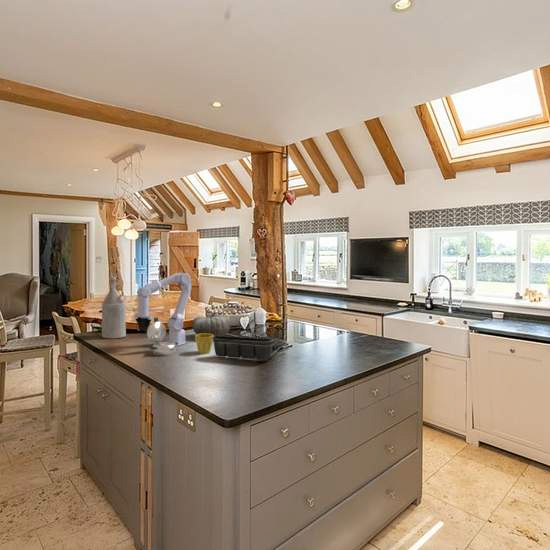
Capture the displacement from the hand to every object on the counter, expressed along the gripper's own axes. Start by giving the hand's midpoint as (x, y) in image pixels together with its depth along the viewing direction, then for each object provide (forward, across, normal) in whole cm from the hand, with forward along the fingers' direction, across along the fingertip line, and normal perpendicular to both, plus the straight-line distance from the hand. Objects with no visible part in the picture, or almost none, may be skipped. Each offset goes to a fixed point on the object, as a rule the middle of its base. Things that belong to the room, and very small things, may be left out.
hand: (143, 330), depth 229 cm
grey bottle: (+11, -42, +7) cm, 44 cm away
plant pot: (+11, +33, +17) cm, 39 cm away
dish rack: (+11, +53, +36) cm, 65 cm away
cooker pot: (+10, +18, +1) cm, 21 cm away
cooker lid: (-2, +11, +1) cm, 12 cm away
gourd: (+11, +5, +49) cm, 50 cm away
